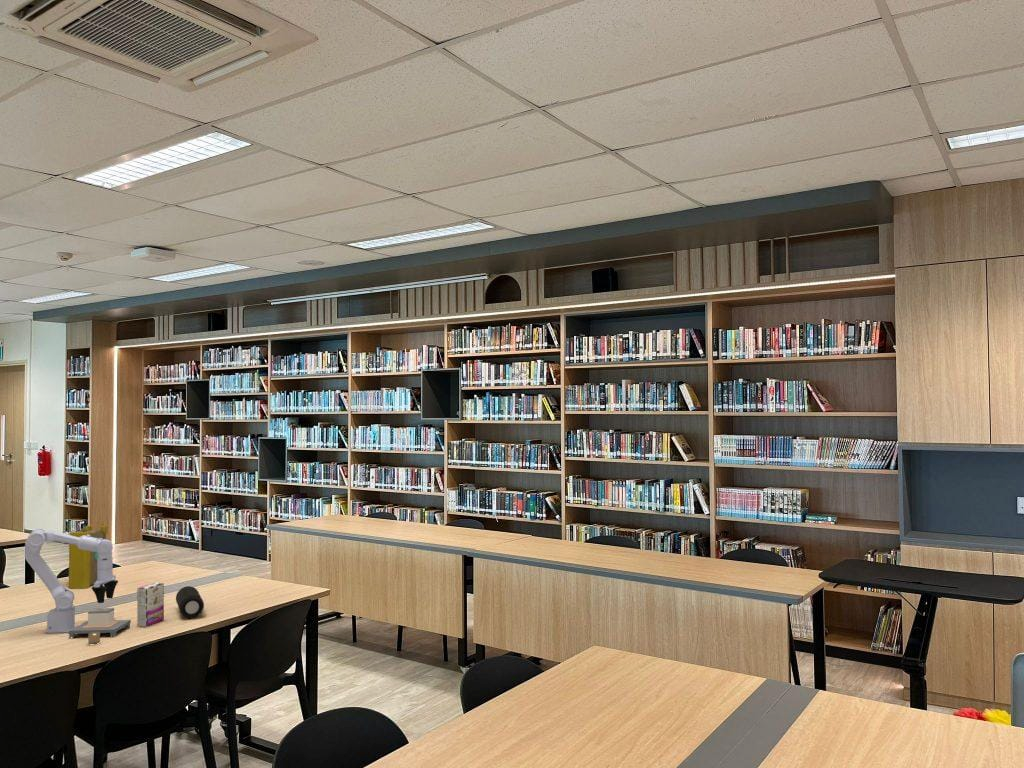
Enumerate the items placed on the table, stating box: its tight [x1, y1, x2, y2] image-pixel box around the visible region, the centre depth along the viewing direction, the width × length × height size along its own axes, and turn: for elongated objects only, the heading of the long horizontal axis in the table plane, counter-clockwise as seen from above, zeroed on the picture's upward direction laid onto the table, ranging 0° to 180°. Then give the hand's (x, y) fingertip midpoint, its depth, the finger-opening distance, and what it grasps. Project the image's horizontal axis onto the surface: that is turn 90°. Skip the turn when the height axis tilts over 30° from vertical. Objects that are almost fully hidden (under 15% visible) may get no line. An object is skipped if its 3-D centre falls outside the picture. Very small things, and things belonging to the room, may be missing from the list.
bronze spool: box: [87, 632, 101, 645], centre depth 287 cm, size 4×4×4 cm
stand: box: [68, 619, 132, 639], centre depth 301 cm, size 18×14×3 cm
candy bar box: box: [136, 581, 165, 628], centre depth 314 cm, size 11×5×16 cm, turn 168°
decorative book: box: [68, 525, 109, 589], centre depth 392 cm, size 20×11×30 cm, turn 0°
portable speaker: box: [175, 585, 205, 619], centre depth 331 cm, size 26×10×10 cm, turn 29°
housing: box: [87, 607, 115, 627], centre depth 301 cm, size 5×8×6 cm, turn 93°
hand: (105, 600), depth 313 cm, fingers open, 7 cm apart
